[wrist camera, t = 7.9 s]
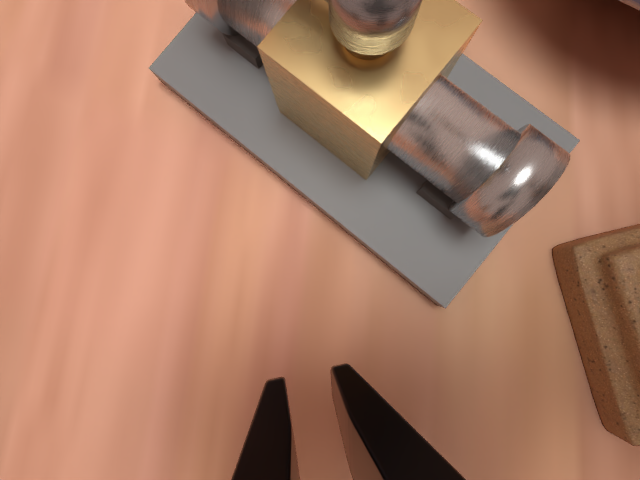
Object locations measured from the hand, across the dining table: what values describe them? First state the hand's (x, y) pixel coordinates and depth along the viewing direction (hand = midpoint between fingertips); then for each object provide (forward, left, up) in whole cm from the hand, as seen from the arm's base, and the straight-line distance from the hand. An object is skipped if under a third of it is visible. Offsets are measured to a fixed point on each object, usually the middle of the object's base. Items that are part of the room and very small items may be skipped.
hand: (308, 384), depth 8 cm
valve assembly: (+3, -12, -13) cm, 18 cm away
